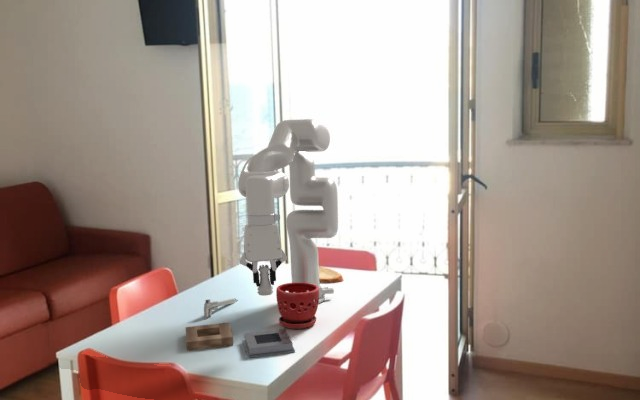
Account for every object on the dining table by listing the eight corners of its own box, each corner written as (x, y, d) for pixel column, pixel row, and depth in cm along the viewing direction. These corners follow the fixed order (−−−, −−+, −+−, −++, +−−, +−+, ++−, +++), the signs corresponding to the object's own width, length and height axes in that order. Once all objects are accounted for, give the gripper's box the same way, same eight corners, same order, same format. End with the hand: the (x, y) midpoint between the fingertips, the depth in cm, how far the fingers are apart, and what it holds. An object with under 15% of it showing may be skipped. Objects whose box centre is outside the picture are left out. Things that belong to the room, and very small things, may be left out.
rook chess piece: (257, 291, 193) (255, 264, 191) (273, 290, 193) (271, 263, 192) (257, 296, 188) (255, 268, 187) (273, 295, 189) (272, 267, 187)
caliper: (207, 320, 219) (206, 301, 218) (204, 319, 220) (203, 301, 219) (238, 301, 238) (237, 283, 237) (235, 301, 238) (234, 283, 237)
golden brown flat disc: (344, 283, 255) (343, 273, 254) (296, 285, 255) (295, 275, 254) (342, 271, 272) (342, 262, 272) (297, 273, 273) (297, 263, 272)
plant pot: (305, 334, 202) (303, 295, 200) (269, 327, 209) (267, 289, 207) (328, 320, 213) (326, 283, 211) (293, 315, 220) (291, 279, 218)
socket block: (229, 330, 208) (228, 322, 207) (233, 345, 195) (232, 336, 195) (186, 335, 205) (185, 327, 205) (187, 350, 193) (186, 342, 192)
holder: (286, 336, 201) (286, 328, 200) (294, 352, 188) (294, 343, 188) (242, 341, 198) (242, 333, 198) (248, 358, 185) (247, 349, 185)
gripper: (288, 215, 193) (291, 278, 196) (230, 220, 189) (234, 284, 192) (293, 220, 185) (296, 285, 188) (232, 225, 182) (236, 291, 185)
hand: (264, 283), depth 190 cm, fingers closed on rook chess piece, 3 cm apart
